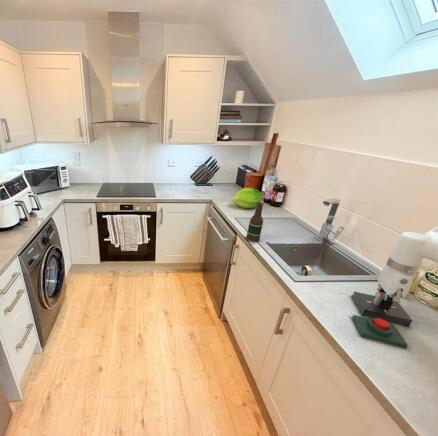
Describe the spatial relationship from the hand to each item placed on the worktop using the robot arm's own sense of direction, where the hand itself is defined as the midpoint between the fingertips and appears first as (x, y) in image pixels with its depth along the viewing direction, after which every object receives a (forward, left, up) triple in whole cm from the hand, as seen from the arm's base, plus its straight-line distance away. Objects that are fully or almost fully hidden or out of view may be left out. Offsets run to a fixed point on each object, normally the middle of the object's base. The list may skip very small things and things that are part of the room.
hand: (381, 304), depth 92 cm
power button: (+5, +13, 0) cm, 14 cm away
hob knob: (0, 0, 0) cm, 0 cm away
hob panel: (0, 0, -3) cm, 3 cm away
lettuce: (+52, -103, -4) cm, 115 cm away
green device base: (+5, +13, -3) cm, 14 cm away
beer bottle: (+46, -45, -4) cm, 64 cm away
